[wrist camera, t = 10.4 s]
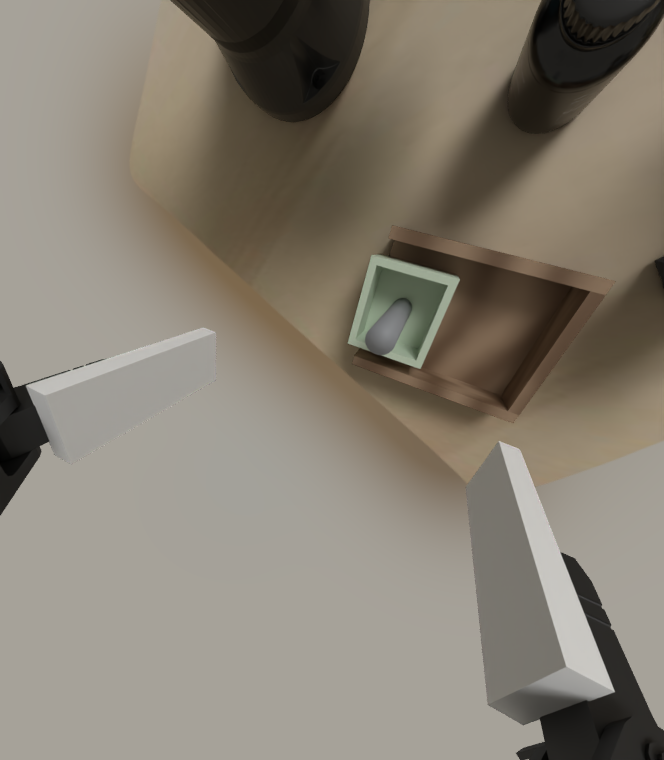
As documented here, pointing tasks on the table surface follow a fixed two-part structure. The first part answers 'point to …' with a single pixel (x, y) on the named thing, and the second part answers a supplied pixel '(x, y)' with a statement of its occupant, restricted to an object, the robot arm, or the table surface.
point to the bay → (492, 324)
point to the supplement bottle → (575, 56)
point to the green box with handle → (401, 309)
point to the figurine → (660, 268)
